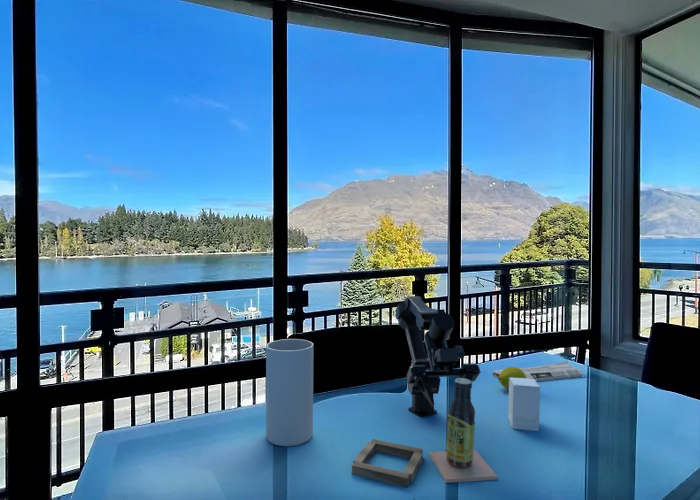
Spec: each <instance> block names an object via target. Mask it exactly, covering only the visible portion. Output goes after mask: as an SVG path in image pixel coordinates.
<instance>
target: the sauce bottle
mask: <svg viewBox="0 0 700 500" xmlns="http://www.w3.org/2000/svg"><path fill="white" fill-rule="evenodd" d="M453 386H454V394H453V399H452V402H451V405H450V408H449V410H448V413H447V425H446V427H447V428H446V447H445V449H446V450H445V451H446V456H447V457H446V459H447V461H448V463H449V464H451V465H453V466H455V467H458V468H465V467H469V466H470V465H471V464H472V460H473V450H475V448H474V445H475V444H474V443H475V430H476V429H475V427H476V426H475V424H476V422H475V421H476V420H475V417H476V409H475V407H474V405H473V402H472V401H471V400H472V397H471V395H472V388H473V382H472V381H470V380H469V379H465V378H459V377H456V378H455V379H454V383H453Z"/></svg>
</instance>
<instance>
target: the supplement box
mask: <svg viewBox="0 0 700 500" xmlns="http://www.w3.org/2000/svg"><path fill="white" fill-rule="evenodd" d="M540 396H541V386H540V385H539V383H538V382H536V381H535V379H528V378H509V390H508V409H507V410H508V412H507V417H508V421H509V424H510V427H511V428H512V429H515V430H523V431H535V432H539V431H540V410H541V408H540V404H541V403H540V402H541V401H540V398H541V397H540Z"/></svg>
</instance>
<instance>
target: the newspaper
mask: <svg viewBox="0 0 700 500" xmlns="http://www.w3.org/2000/svg"><path fill="white" fill-rule="evenodd" d="M518 368H519V367H518ZM504 369H505V368H504ZM504 369H492V376H493V377H495V378H498V377H499V375H500V373H501V372H502V371H503V370H504ZM519 369H521V370H522V371H523V372H524V374H525V376H526V378H528V379H535V381H536V382H537V383H539V382H548V381H549V382H550V381H558V380H560V379H561V380H568V379H567V378H571V379H576V378H575V377H582V376H584V377H585V374H584V372H583V370H581V369H580V368H578V367H576V366H573V365H571V364H570V363H568V361H567V360H566V361H561V362H555V363H549V364H543V365H539V366H532V367H522V368H521V367H520V368H519ZM582 378H583V377H582Z"/></svg>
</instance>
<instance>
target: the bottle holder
mask: <svg viewBox="0 0 700 500" xmlns="http://www.w3.org/2000/svg"><path fill="white" fill-rule="evenodd" d="M376 452H377V453H382V454H386V455H387V454H388V455H392V456H397V457H399V458H405V459H409V461H408V463H407V465H406V466H405V468H404V470H403V471H399V470H395V469H391V468H386V467H383V466H377V465H374V464H369V463H368V462H369V461H370V460H371V458H372V457H373V455H374V454H375V453H376ZM423 452H424V451H423V448H419V447H414V446H409V445H405V444H400V443H394V442H392V441H391V442H390V441H385V440H381V439H375V438H373V439H372V440H371V441H368V442H367V443H366V444H365V446H364V447H363V448H362V449H361V451H360V452H358V454H357V455H356V456H355V458H354V459H353V460H352V464H351V475H355V476H358V477H363V478H367V479H371V480H375V481H379V482H383V483H386V484H387V483H388V484H392V485H396V486H399V487H403V488H408V487H409V484H413V481H414V479H415V478H416V475H417V473H418V471H419V469H420V468H421V465H422V463H423V456H424V455H423Z"/></svg>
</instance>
